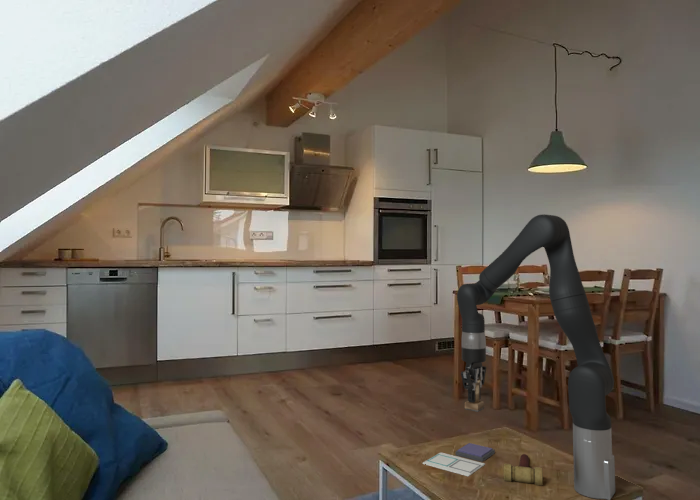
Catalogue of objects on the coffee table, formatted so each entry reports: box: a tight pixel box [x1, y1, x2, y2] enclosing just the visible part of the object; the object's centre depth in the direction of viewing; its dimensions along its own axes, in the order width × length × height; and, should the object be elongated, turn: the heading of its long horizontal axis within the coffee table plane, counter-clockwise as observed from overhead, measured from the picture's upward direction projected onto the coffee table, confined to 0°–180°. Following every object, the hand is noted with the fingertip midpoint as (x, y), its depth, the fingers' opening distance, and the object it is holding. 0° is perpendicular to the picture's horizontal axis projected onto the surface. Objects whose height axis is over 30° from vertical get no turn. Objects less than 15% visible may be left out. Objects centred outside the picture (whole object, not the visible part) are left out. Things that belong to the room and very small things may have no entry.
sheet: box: [422, 451, 486, 477], centre depth 151 cm, size 15×11×1 cm
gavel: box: [503, 453, 544, 487], centre depth 147 cm, size 21×5×10 cm
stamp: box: [464, 379, 485, 412], centre depth 160 cm, size 4×4×9 cm
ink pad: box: [455, 442, 496, 463], centre depth 159 cm, size 9×9×2 cm
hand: (474, 400), depth 160 cm, fingers closed on stamp, 3 cm apart
